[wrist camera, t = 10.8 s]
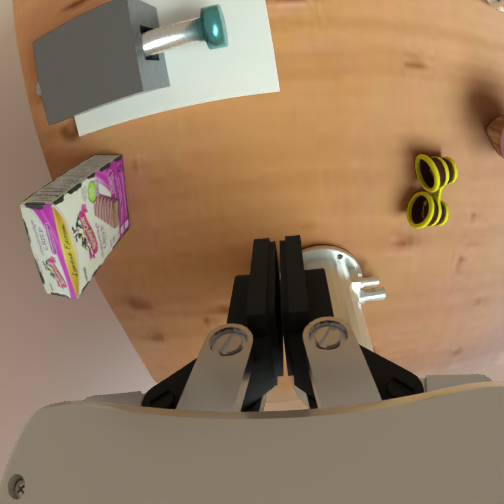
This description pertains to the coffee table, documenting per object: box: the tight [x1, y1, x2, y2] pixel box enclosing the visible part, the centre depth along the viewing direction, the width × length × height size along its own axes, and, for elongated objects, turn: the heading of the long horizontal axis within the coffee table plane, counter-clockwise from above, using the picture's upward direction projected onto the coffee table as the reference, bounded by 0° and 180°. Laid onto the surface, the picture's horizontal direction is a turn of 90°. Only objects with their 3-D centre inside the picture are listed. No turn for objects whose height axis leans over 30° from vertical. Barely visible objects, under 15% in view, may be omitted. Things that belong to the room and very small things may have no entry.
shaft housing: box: [33, 0, 170, 126], centre depth 26 cm, size 12×10×8 cm
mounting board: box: [74, 0, 280, 136], centre depth 29 cm, size 26×16×1 cm, turn 99°
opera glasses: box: [407, 154, 457, 229], centre depth 34 cm, size 10×5×5 cm, turn 2°
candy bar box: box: [20, 155, 130, 299], centre depth 33 cm, size 11×5×16 cm, turn 177°
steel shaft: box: [35, 4, 228, 98], centre depth 25 cm, size 23×5×5 cm, turn 99°
